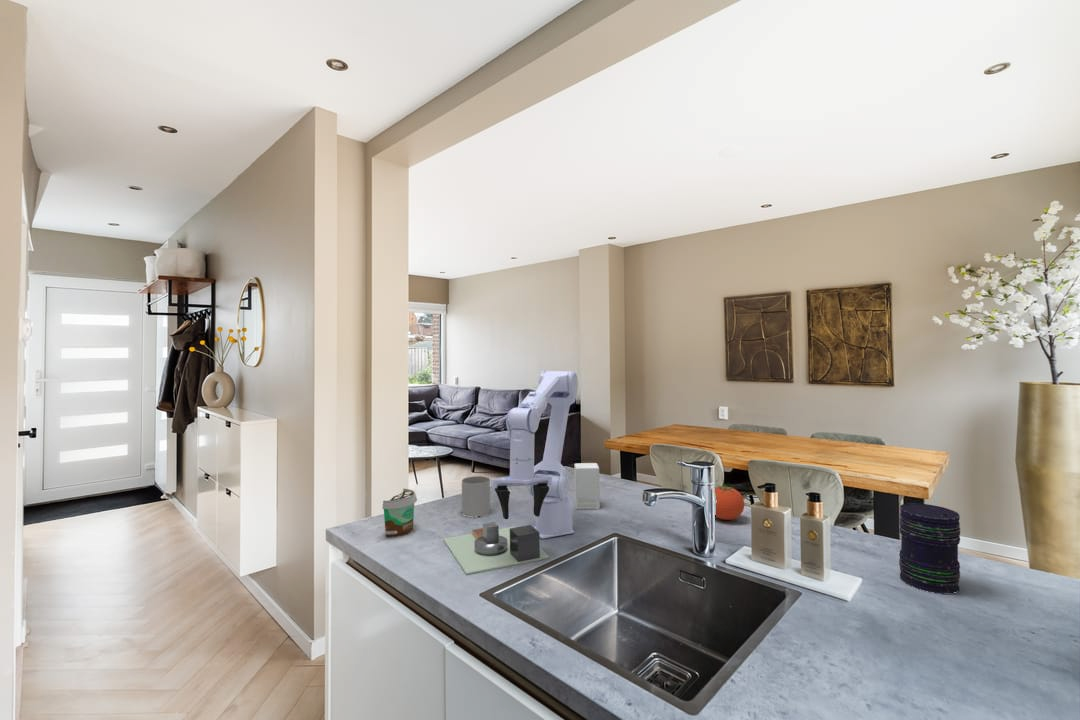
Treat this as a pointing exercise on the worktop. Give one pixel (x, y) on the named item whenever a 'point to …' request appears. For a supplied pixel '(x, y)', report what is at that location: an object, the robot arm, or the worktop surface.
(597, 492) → the supplement box
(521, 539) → the dark grey cube
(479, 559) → the tool mat
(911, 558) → the storage jar
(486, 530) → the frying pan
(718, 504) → the tomato
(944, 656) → the worktop surface
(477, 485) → the cup
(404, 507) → the food container
